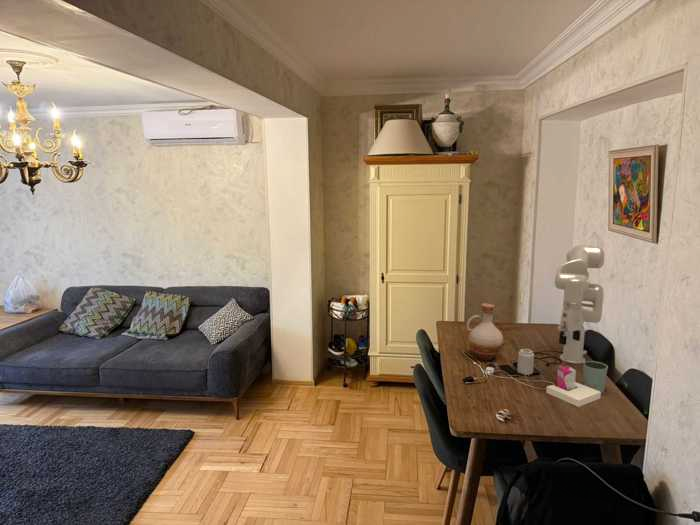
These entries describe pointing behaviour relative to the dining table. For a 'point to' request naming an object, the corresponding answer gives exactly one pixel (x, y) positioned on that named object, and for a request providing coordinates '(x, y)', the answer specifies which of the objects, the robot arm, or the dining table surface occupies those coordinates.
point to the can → (525, 361)
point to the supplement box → (566, 378)
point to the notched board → (575, 394)
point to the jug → (485, 335)
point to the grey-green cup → (595, 375)
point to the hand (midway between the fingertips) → (569, 341)
